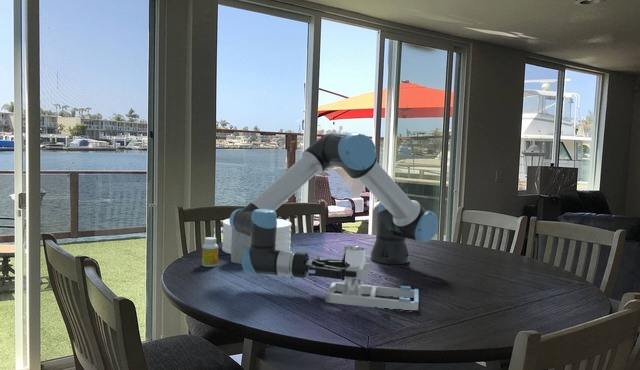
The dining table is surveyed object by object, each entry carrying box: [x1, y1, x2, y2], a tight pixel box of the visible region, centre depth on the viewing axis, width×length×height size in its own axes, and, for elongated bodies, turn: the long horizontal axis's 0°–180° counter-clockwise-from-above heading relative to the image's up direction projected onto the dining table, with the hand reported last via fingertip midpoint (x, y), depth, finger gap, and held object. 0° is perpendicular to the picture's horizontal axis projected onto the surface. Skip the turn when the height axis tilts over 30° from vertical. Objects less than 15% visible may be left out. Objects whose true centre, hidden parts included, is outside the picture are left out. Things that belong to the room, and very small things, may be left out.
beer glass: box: [341, 245, 367, 296], centre depth 150 cm, size 7×7×15 cm
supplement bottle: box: [201, 236, 219, 268], centre depth 180 cm, size 5×5×10 cm
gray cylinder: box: [230, 228, 251, 265], centre depth 189 cm, size 10×10×12 cm
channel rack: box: [324, 281, 419, 311], centre depth 149 cm, size 26×13×2 cm, turn 79°
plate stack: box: [221, 217, 292, 255], centre depth 210 cm, size 28×28×12 cm
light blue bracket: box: [398, 285, 420, 305], centre depth 147 cm, size 5×13×3 cm, turn 169°
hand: (369, 271), depth 149 cm, fingers open, 8 cm apart
